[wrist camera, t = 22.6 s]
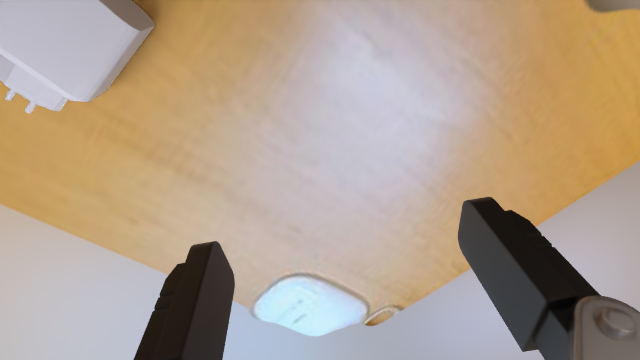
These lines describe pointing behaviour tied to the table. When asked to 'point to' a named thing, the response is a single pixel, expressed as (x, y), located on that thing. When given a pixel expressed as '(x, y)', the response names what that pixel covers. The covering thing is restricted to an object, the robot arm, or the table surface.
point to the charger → (67, 47)
